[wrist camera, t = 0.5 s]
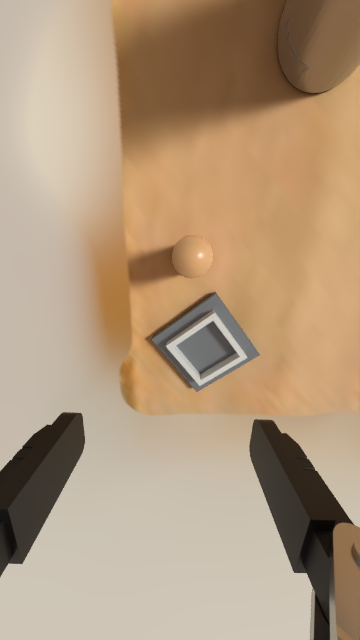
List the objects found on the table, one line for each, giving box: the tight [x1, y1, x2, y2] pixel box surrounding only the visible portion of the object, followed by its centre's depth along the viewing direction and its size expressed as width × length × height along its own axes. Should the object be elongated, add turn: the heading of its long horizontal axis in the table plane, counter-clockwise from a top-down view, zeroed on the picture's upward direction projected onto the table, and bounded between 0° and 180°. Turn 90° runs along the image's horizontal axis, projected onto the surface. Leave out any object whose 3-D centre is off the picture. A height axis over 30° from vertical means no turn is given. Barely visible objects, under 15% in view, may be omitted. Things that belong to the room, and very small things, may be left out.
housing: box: [151, 292, 260, 392], centre depth 28 cm, size 12×12×3 cm
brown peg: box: [172, 235, 213, 278], centre depth 22 cm, size 4×4×8 cm
